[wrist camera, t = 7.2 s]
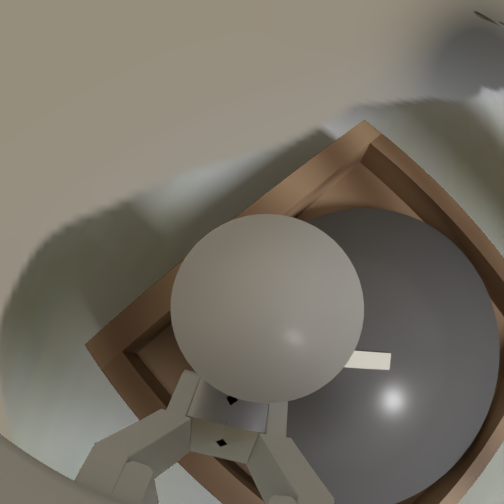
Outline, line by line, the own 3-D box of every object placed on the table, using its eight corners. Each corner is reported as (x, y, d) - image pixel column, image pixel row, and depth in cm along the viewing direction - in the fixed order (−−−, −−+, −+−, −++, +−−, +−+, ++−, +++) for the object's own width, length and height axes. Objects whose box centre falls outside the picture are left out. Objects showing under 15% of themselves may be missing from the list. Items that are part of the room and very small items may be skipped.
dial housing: (349, 152, 20) (364, 117, 17) (521, 341, 16) (554, 333, 12) (113, 349, 15) (82, 343, 12) (344, 561, 11) (361, 590, 7)
